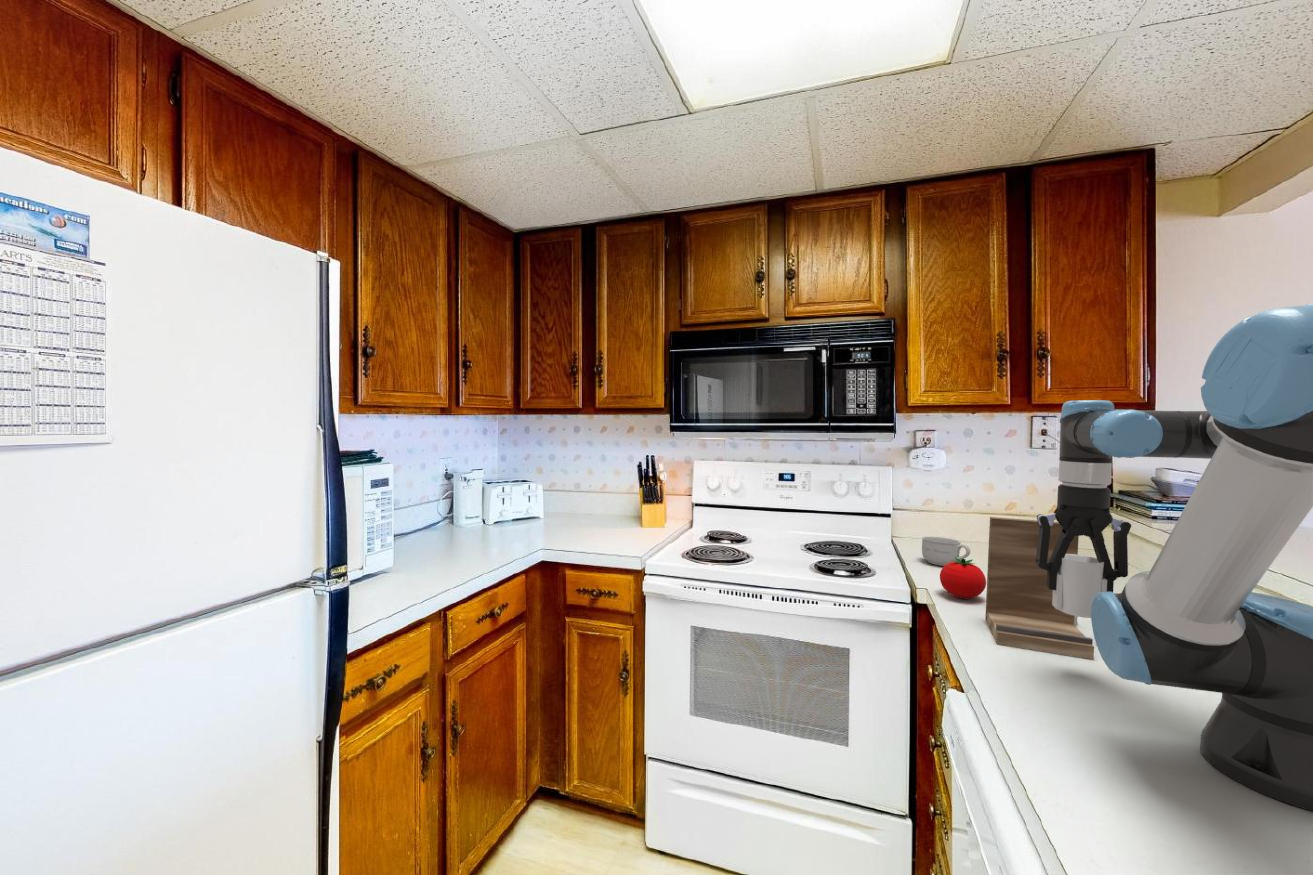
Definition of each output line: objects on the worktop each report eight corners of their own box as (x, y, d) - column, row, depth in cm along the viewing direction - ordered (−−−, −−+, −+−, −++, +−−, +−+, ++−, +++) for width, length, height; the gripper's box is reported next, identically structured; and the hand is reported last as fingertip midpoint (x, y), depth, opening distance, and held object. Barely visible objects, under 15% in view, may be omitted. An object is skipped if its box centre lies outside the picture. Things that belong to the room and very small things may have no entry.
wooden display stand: (1093, 659, 103) (1100, 537, 102) (997, 644, 109) (1002, 529, 108) (1070, 631, 116) (1076, 523, 115) (985, 619, 122) (989, 516, 121)
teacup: (913, 561, 170) (914, 536, 170) (936, 557, 175) (937, 533, 174) (953, 573, 157) (954, 546, 157) (977, 569, 162) (978, 543, 162)
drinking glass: (1110, 616, 96) (1112, 561, 95) (1086, 620, 93) (1089, 564, 93) (1069, 604, 102) (1072, 552, 102) (1047, 608, 100) (1049, 555, 99)
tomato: (929, 592, 140) (931, 555, 140) (958, 588, 144) (960, 552, 143) (965, 606, 130) (966, 566, 130) (995, 601, 134) (996, 562, 134)
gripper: (1140, 486, 97) (1134, 611, 97) (1018, 479, 104) (1013, 596, 105) (1160, 490, 90) (1153, 625, 91) (1027, 483, 97) (1022, 608, 98)
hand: (1078, 609), depth 98 cm, fingers closed on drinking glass, 6 cm apart
